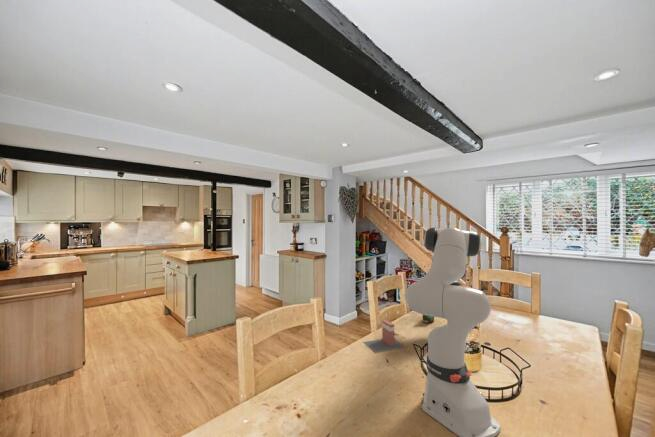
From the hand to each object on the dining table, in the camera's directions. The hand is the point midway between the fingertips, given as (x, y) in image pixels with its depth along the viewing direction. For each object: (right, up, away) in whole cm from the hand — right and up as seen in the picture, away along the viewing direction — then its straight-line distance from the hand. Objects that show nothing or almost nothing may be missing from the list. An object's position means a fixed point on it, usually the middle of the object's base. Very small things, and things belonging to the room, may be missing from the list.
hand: (408, 300), depth 136 cm
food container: (+21, -21, +25) cm, 39 cm away
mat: (-14, -20, -7) cm, 25 cm away
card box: (-11, -19, -5) cm, 23 cm away
